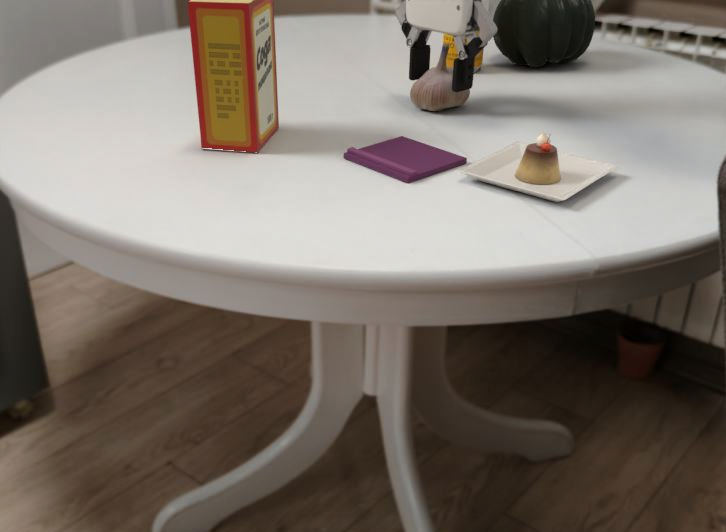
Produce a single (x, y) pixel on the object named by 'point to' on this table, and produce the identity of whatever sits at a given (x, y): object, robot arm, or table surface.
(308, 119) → the table surface
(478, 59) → the beer can
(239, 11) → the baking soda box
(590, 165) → the dessert
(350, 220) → the table surface
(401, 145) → the purple flat slab
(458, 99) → the garlic bulb
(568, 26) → the squash
